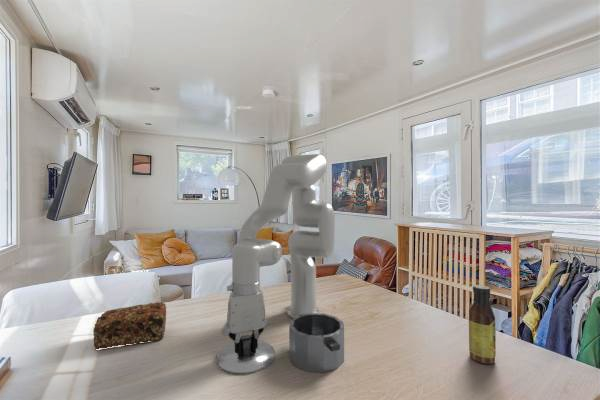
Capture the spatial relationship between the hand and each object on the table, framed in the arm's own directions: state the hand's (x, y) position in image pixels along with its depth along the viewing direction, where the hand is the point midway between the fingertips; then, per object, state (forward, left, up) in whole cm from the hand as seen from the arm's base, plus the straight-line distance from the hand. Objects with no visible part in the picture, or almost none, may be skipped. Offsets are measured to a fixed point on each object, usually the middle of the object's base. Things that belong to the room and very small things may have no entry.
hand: (246, 352), depth 80 cm
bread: (-25, -30, -2) cm, 39 cm away
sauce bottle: (+28, +59, -1) cm, 65 cm away
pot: (+8, +18, -1) cm, 20 cm away
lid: (0, 0, -1) cm, 1 cm away
